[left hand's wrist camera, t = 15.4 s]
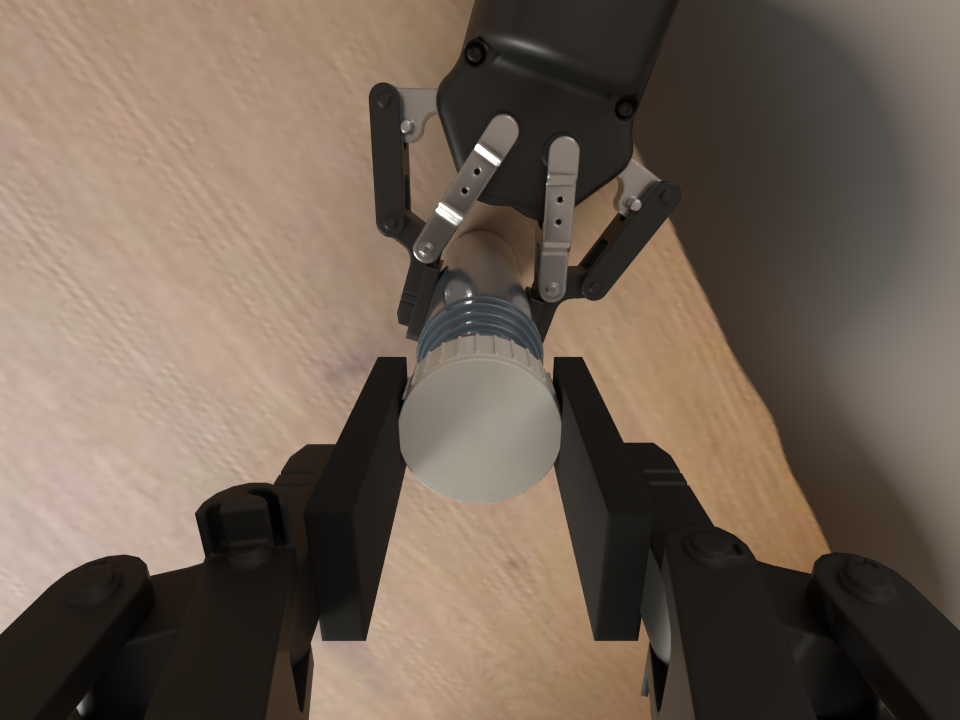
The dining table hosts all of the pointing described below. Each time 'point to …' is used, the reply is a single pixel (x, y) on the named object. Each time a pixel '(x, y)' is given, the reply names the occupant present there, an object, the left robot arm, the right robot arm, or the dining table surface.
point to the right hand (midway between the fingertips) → (462, 347)
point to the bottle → (479, 297)
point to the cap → (480, 420)
